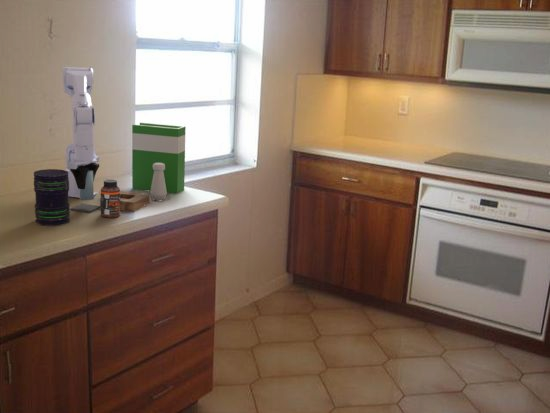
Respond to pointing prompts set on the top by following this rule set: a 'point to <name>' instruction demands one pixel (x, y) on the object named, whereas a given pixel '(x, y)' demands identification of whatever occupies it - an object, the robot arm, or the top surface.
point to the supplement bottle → (110, 199)
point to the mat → (85, 208)
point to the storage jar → (51, 197)
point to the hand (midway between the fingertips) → (85, 187)
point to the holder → (132, 201)
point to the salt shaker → (158, 182)
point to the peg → (88, 187)
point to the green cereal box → (158, 155)
